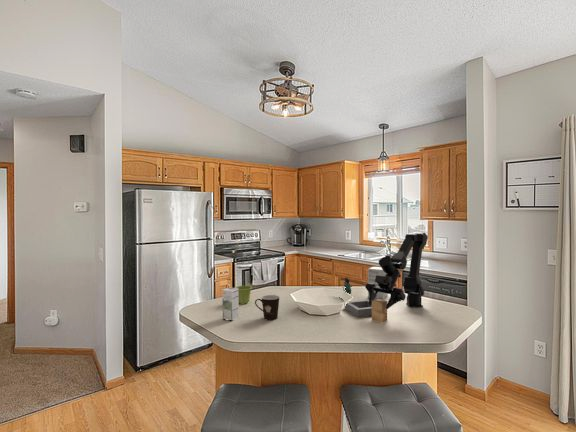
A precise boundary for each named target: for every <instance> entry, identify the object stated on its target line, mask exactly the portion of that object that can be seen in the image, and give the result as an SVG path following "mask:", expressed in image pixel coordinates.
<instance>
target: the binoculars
mask: <svg viewBox="0 0 576 432" xmlns="http://www.w3.org/2000/svg"><path fill="white" fill-rule="evenodd" d="M343 282H344V283H343V284H344V286H343V288H344V287H346V288H345V290H346V291H345V290H344V291H345V293H346V292H347V293H349V294H351V295H352V288H351V287H353V285H351V282H350V279H349V277H344V281H343Z"/></svg>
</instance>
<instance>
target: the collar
mask: <svg viewBox="0 0 576 432" xmlns="http://www.w3.org/2000/svg"><path fill="white" fill-rule="evenodd" d="M348 302H349V303H347V304H346V306H345V305H344V309H345V310H346V311H347V312H349V313H351V314H353V315H354V316H355V317H357V318H362V317H369V316H371V317H372V304H371V305H369V299H361V300H353V301H348Z"/></svg>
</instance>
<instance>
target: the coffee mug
mask: <svg viewBox="0 0 576 432" xmlns="http://www.w3.org/2000/svg"><path fill="white" fill-rule="evenodd" d="M257 301H260V302H261V304H262V308H261V307H259V305H258V303H257ZM254 305H255V306H256V307H257V308H258V309H259V310H260V311H262V312H263V319H264V320H265V319H267V320H266V321H275V320H277V319H278V314H279V307H280V296H279V295H275V294H267V295H262V296H261V298H256V300H255V301H254Z"/></svg>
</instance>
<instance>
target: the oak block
mask: <svg viewBox="0 0 576 432" xmlns="http://www.w3.org/2000/svg"><path fill="white" fill-rule="evenodd" d="M387 303H388V301H387V300H384V299H380V298H375V299H374V300H373V301H372V315H371V321H373V322H376V323H379V324H383V323H385V322H387V321H388V309H386V306H387Z"/></svg>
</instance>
